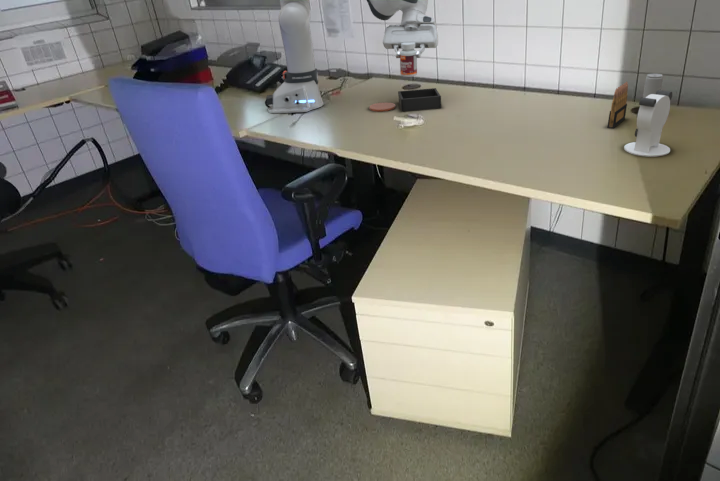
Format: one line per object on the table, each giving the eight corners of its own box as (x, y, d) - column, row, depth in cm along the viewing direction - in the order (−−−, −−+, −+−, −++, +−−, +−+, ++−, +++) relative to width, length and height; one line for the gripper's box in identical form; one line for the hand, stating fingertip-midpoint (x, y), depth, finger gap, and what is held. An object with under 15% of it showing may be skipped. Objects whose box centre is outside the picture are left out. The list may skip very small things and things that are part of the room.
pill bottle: (398, 77, 202) (397, 44, 196) (403, 73, 207) (402, 41, 201) (414, 77, 200) (413, 44, 194) (419, 73, 204) (418, 41, 199)
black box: (401, 111, 203) (401, 99, 201) (398, 102, 214) (398, 91, 212) (441, 108, 203) (440, 96, 200) (435, 99, 214) (435, 88, 212)
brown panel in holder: (618, 118, 176) (624, 80, 170) (624, 119, 175) (630, 81, 169) (607, 127, 169) (612, 88, 163) (613, 128, 168) (619, 89, 162)
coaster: (370, 112, 205) (369, 110, 205) (368, 105, 214) (368, 103, 213) (396, 110, 205) (396, 108, 204) (394, 103, 214) (394, 101, 213)
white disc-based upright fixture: (636, 139, 158) (645, 87, 151) (678, 147, 150) (689, 92, 143) (616, 150, 152) (624, 96, 144) (658, 159, 144) (669, 102, 137)
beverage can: (641, 114, 177) (648, 77, 172) (638, 110, 181) (645, 73, 176) (658, 114, 176) (665, 76, 170) (654, 110, 180) (661, 73, 175)
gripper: (383, 20, 203) (378, 52, 199) (438, 17, 197) (434, 51, 194) (387, 30, 209) (382, 62, 205) (440, 29, 203) (436, 61, 199)
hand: (408, 57), depth 199 cm, fingers closed on pill bottle, 6 cm apart
